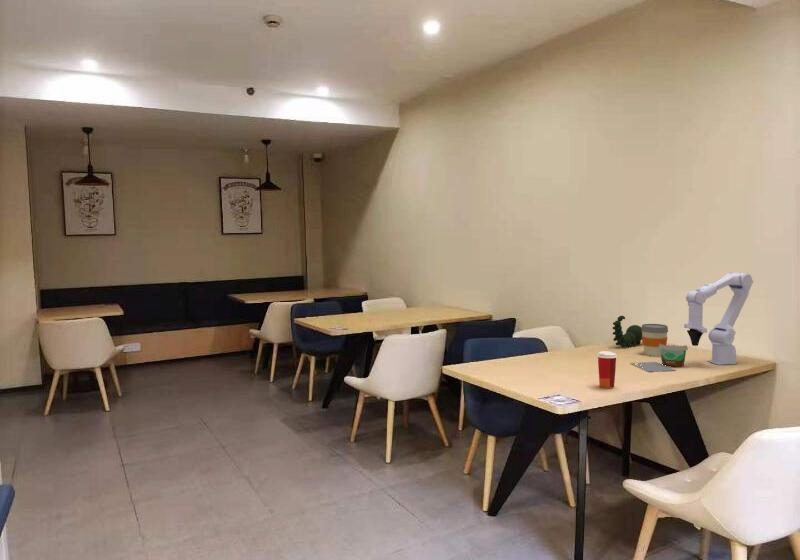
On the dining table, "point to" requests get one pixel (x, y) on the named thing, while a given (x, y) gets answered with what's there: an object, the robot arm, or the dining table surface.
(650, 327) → the reusable coffee cup
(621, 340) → the toy figurine
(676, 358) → the food container
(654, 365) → the plain gray flat panel
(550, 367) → the dining table surface
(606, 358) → the paper cup
